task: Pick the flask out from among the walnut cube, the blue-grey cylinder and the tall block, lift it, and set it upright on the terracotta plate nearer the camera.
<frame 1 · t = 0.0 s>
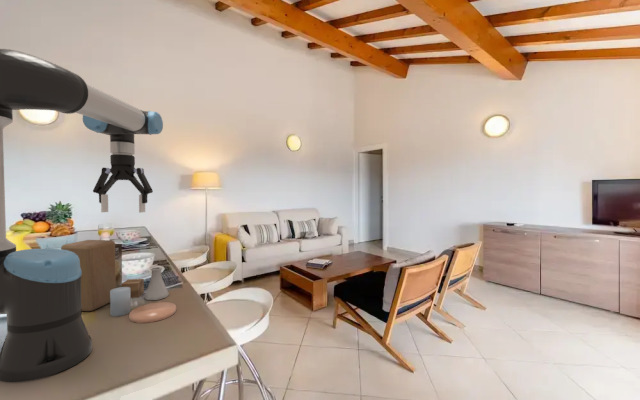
hand: (123, 212, 112), 28 cm above the breakfast bar, tool pointing down, fingers open, 13 cm apart
coffee box: (106, 290, 109), on the breakfast bar
blue-grey cylinder: (120, 312, 89), on the breakfast bar
flask: (156, 297, 102), on the breakfast bar
terracotta plate: (153, 313, 88), on the breakfast bar
walnut cube: (133, 295, 104), on the breakfast bar
block: (90, 306, 95), on the breakfast bar
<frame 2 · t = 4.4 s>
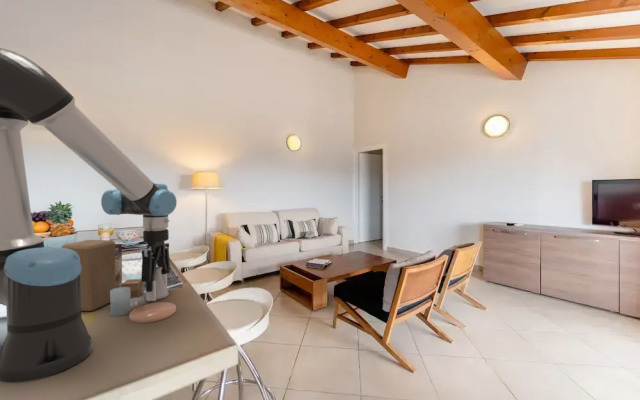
hand: (157, 296, 102), 0 cm above the breakfast bar, tool pointing down, fingers closed on flask, 7 cm apart
flask: (156, 297, 102), on the breakfast bar, touching gripper
everything else where it was.
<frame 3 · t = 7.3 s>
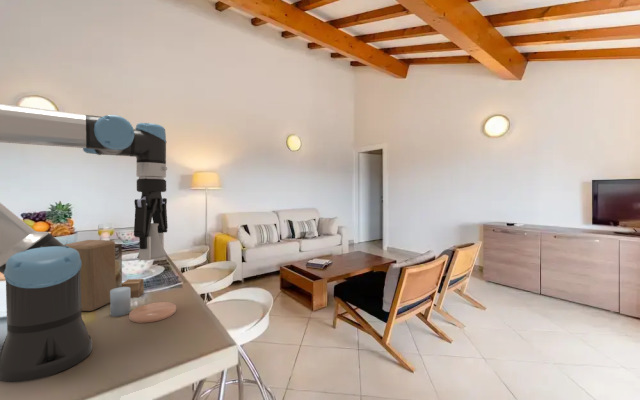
hand: (152, 256, 88), 17 cm above the breakfast bar, tool pointing down, fingers closed on flask, 7 cm apart
flask: (152, 258, 88), point 16 cm above the breakfast bar, touching gripper
everything else where it was.
when the fingers open (3 cm above the breakfast bar, at t = 10.7 s): flask drops 1 cm, resting on terracotta plate.
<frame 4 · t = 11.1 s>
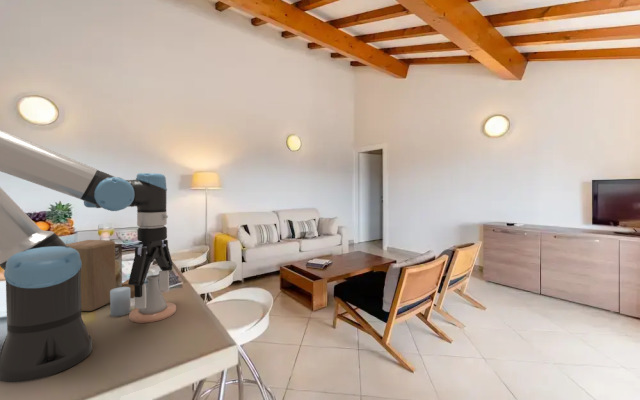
hand: (153, 299, 88), 4 cm above the breakfast bar, tool pointing down, fingers open, 13 cm apart
flask: (153, 310, 88), point 1 cm above the breakfast bar, touching terracotta plate
everything else where it was.
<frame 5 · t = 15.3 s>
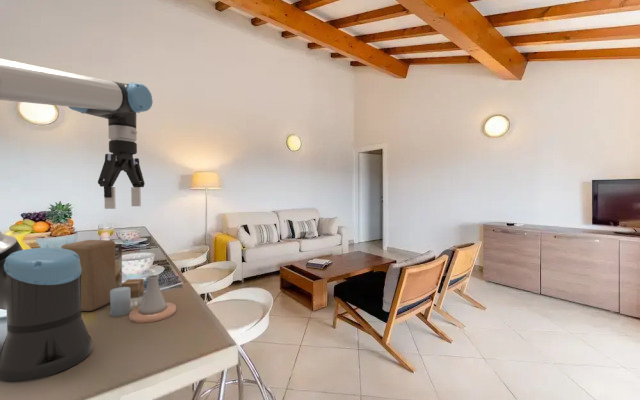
hand: (124, 207, 97), 31 cm above the breakfast bar, tool pointing down, fingers open, 13 cm apart
nothing on the breakfast bar moved.
at the end: flask inside the target area on the terracotta plate (0.1 cm from its centre), point 1.0 cm above the terracotta plate's base; flask tilted 0°; walnut cube moved 0.1 cm from its start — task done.
